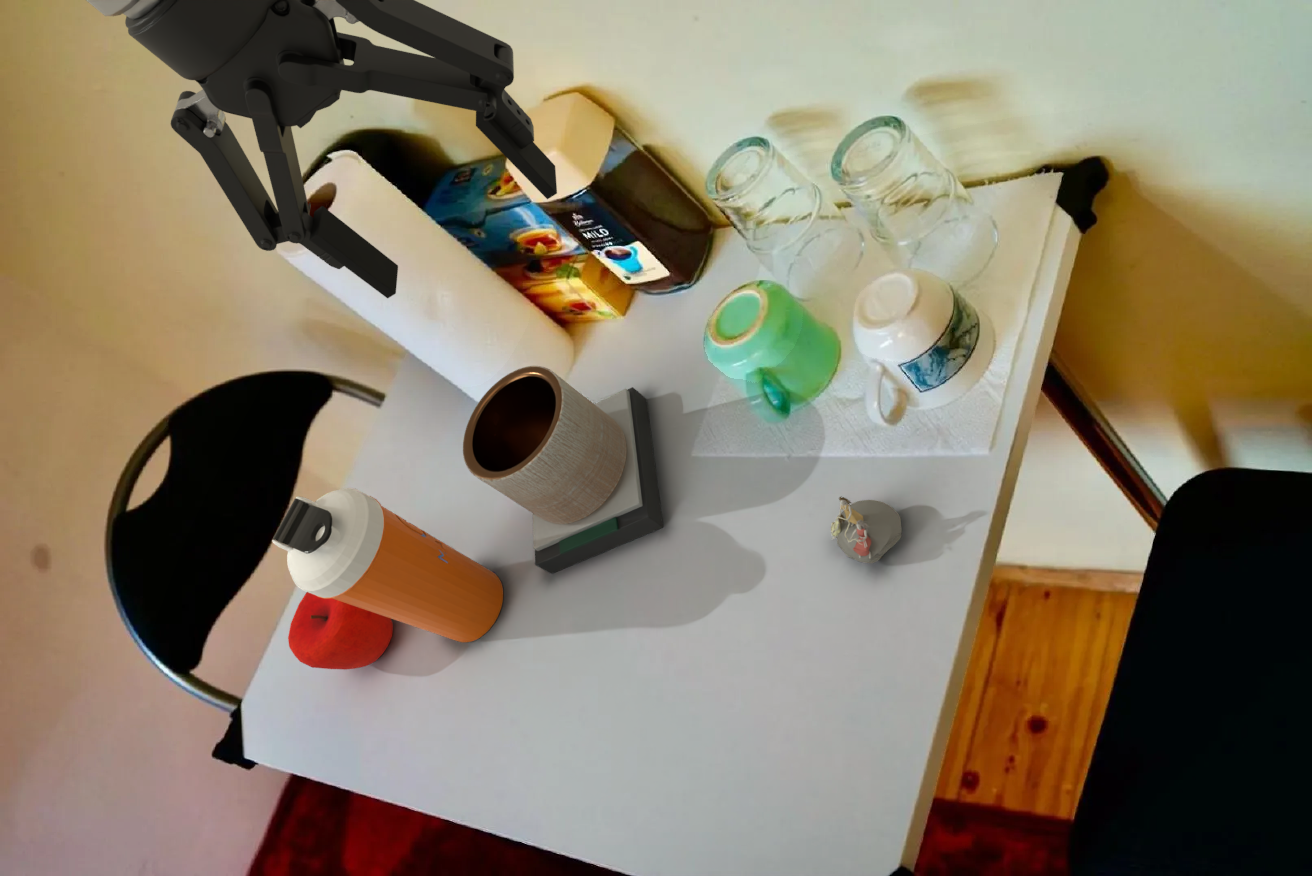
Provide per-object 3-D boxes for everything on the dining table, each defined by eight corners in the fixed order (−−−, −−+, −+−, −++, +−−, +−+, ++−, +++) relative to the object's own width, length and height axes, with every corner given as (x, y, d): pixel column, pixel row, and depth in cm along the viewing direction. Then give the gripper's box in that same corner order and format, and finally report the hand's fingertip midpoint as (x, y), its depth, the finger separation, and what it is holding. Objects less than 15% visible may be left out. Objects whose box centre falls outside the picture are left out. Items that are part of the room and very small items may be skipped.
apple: (379, 582, 93) (319, 555, 88) (422, 616, 87) (360, 589, 82) (332, 659, 92) (267, 637, 86) (372, 698, 86) (306, 678, 80)
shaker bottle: (492, 660, 80) (309, 585, 65) (427, 645, 85) (245, 574, 71) (524, 565, 83) (357, 474, 68) (460, 557, 88) (292, 471, 74)
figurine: (909, 507, 64) (879, 472, 60) (910, 565, 62) (880, 533, 58) (840, 516, 67) (806, 484, 63) (839, 572, 65) (804, 542, 61)
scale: (663, 528, 76) (644, 514, 74) (551, 575, 80) (530, 563, 78) (646, 398, 84) (629, 383, 82) (545, 448, 89) (526, 434, 86)
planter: (579, 548, 76) (505, 503, 69) (514, 496, 83) (441, 450, 76) (653, 443, 77) (587, 388, 70) (581, 401, 84) (515, 348, 77)
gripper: (357, -239, 41) (621, 98, 56) (41, 63, 50) (339, 281, 65) (341, -171, 36) (632, 174, 51) (-2, 146, 46) (329, 358, 61)
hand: (469, 234), depth 58 cm, fingers open, 13 cm apart
